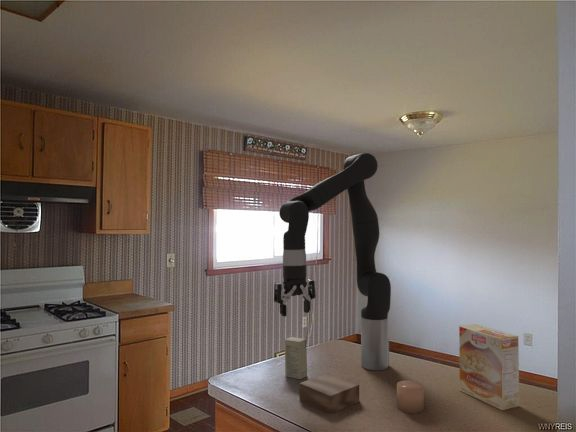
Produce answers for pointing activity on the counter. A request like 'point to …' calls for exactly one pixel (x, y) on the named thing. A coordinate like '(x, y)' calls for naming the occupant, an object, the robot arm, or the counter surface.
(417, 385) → the pink rounded knob
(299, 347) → the skincare box
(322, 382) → the walnut block
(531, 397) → the counter surface
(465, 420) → the counter surface
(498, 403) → the coffeecake box
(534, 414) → the counter surface
